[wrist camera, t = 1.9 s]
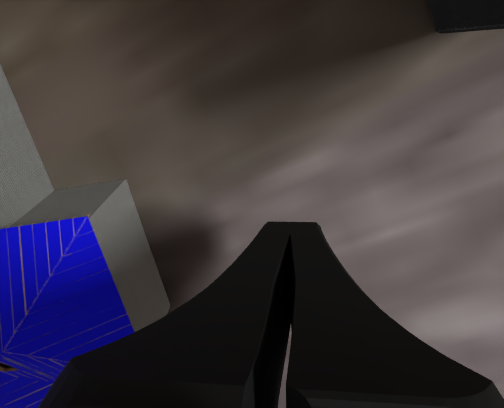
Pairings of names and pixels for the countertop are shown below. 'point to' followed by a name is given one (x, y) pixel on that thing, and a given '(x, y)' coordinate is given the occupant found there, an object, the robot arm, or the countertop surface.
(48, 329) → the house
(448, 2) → the ammunition clip
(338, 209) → the countertop surface
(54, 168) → the countertop surface
